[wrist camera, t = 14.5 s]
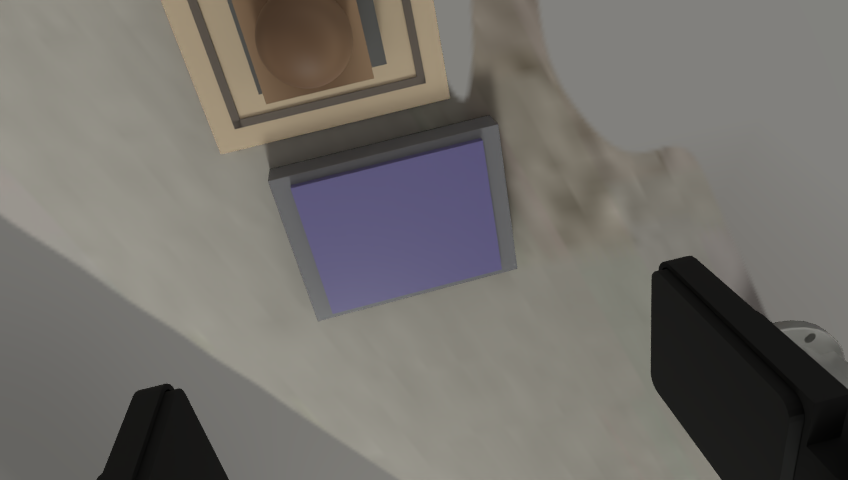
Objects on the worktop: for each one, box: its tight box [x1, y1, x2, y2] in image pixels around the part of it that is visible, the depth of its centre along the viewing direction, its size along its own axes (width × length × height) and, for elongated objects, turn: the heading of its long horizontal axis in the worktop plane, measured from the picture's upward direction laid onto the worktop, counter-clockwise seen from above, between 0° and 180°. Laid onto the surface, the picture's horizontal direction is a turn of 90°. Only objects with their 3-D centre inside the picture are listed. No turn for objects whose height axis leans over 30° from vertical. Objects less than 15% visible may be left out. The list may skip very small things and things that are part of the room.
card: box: [161, 0, 450, 154], centre depth 27 cm, size 12×12×1 cm
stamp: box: [227, 0, 387, 104], centre depth 23 cm, size 6×6×10 cm
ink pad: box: [268, 115, 517, 321], centre depth 33 cm, size 12×9×2 cm
